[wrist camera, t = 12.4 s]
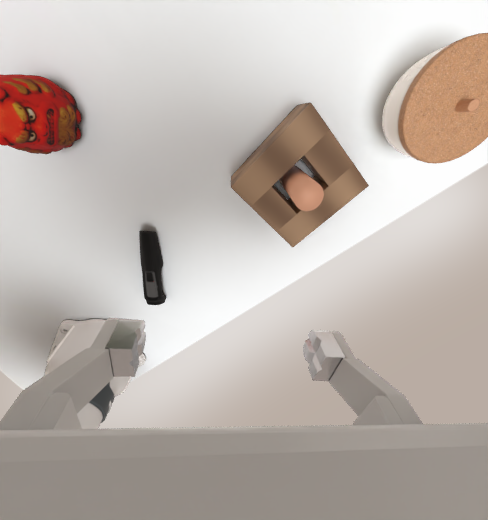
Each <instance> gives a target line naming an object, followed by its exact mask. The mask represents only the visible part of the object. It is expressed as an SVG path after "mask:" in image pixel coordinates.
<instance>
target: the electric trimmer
mask: <svg viewBox="0 0 488 520" xmlns="http://www.w3.org/2000/svg"><path fill="white" fill-rule="evenodd" d="M140 255H141V266H142V273H143V287H144V297H145V299H146V301H147V304H149V305H159V304H162V303H164V302H165V299H166V296H163V292H162V285H161V269H162V266H163V261H162V256H161V252H160V248H159V243H158V239H157V235H156V232H150V231H140Z"/></svg>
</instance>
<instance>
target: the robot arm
mask: <svg viewBox="0 0 488 520" xmlns="http://www.w3.org/2000/svg"><path fill="white" fill-rule="evenodd" d="M144 328H145V321H144V320H133V319H118V318H108V319H107V320H102V319H91V320H85V321H74V320H64V321H63V322H62V323H61V325H60V327H59V329H58V332H57V335H56V337H55V340H54V343H53V346H52V348H51V351H50V354H49V356H48V359H47V363H48V364H47V366H46V369H45V374H44V377H42V378H41V379H39V380H38V381H36V382H35V383H33V384H32V385H31V386H29V387H28V388H26V389H25V390H23V391H22V392H21V394H20V395H19V397H18V398H17V399H16V400H15V402H14V403H13V405H12V406H11V407H10V409H9V410H8V411H7V413H6V414H5V416H4V417H3V418H2V420H1V421H0V520H488V423H481V424H423V423H422V421H421V420H420V419H419V417H418V415H417V414H416V412H415V411H414V409H413V408H412V406H411V405H410V403H409V402H408V400H407V399H406V397H405V396H404V395H403V394H402V393H401V392H399V391H398V390H397V389H396V388H394V387H393V386H392V385H390V384H389V383H388V382H387V381H386V380H384V379H383V378H382V377H381V376H379V375H378V374H377V373H375V372H374V371H373V370H372V369H371V368H369V367H368V366H367V365H366V364H364V363H363V362H362V361H361V360H359V359H356V358H355V356H354V355H353V353H352V351H351V350H350V348H349V346H348V344H347V342H346V341H345V339H344V337H343V335H342V334H341V333H340V332H338V331H318V330H311V331H310V332H309V334H308V336H309V339H308V340H306V341H305V344H304V347H303V352H304V357H305V360H306V361H307V362H308V363H309V364H310V365H309V367H308V368H309V371H310V374H311V377H312V380H316V381H317V380H318V381H329V383H330V384H331V385H332V386H333V388H334V389H335V390H336V391H337V392H338V393H339V395H340V396H341V397H342V398H343V399H344V400H345V401H346V402H347V404H348V405H349V406H350V407H351V408H352V409H353V411H354V412H355V413H356V414H357V415H358V416H359V417H358V418H357V419H356V420H355V421H354V423H353V425H340V426H339V425H338V426H271V427H270V426H269V427H268V426H267V427H266V426H263V427H196V428H195V427H194V428H125V429H123V428H121V429H98V428H99V426H100V423H102V422H103V421H104V420H105V418H106V416H107V414H108V413H109V411H110V409H111V406H112V403H113V400H114V397H115V396H118V395H120V394H121V393H123V392H124V391H125V390H126V388H127V386H128V384H129V382H130V379H131V377H135V374H136V371H137V368H138V367H139V366H141V365H143V364H144V363H145V361H146V357H145V356H144V354H143V349H144V345H145V338H146V334H145V332H144Z"/></svg>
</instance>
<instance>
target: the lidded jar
mask: <svg viewBox="0 0 488 520" xmlns="http://www.w3.org/2000/svg"><path fill="white" fill-rule="evenodd" d="M382 128H383V132H384V135H385V137H386V139H387V141H388V142H389V144H390V145H391V146H392V147H393V148H394V149H396V150H397V151H398V152H400V153H402V154H404V155H406V156H409V157H412V158H415V159H417V160H420V161H423V162H427V163H443V162H447V161H451V160H454V159H456V158H459V157H461V156H462V155H464V154H466V153H468V152H469V151H471V150H472V149H474V148H475V147H477V146H478V145H479V144H480V143H482V142H483V141H484V140H485V139H486V138H487V137H488V33H481V34H476V35H472V36H469V37H465V38H463V39H461V40H458V41H456V42H454V43H452V44H450V45H447V46H445V47H443V48H440V49H438V50H436V51H434V52H432V53H430V54H429V55H427V56H425V57H424V58H422V59H421V60H419V61H418V62H417V63H415V64H414V65H413V66H412V67H410V68H409V69H408V70H407V71H406V72H405V73H404V74H403V75H402V76H401V78H400V79H399V80H398V81H397V83H396V84H395V85H394V87H393V88H392V90H391V92H390V94H389V96H388V98H387V100H386V103H385V106H384V110H383V115H382Z"/></svg>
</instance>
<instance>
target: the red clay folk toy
mask: <svg viewBox="0 0 488 520" xmlns="http://www.w3.org/2000/svg"><path fill="white" fill-rule="evenodd" d="M80 122H81V114H80V112H79V111H78V109H77V106H76V102H75V99H74V97H73V96H72V95H71V94H70V93H69V92H67V91H65V90H63V89H62V88H60V87H59V86H58V85H56V84H55V83H53V82H52V81H50V80H48V79H46V78H44V77H41V76H33V75H0V144H1V145H4V146H5V145H8V146H10V147H13V148H15V149H18V150H23V151H27V152H30V153H37V154H38V153H42V154H49V153H51V152H52V151H59V150H61V149H63V148H66V147H71V146H72V144H73V142H74V141H76V140H79V139H80V138H81V132H80V129H79V128H78V124H80Z"/></svg>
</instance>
